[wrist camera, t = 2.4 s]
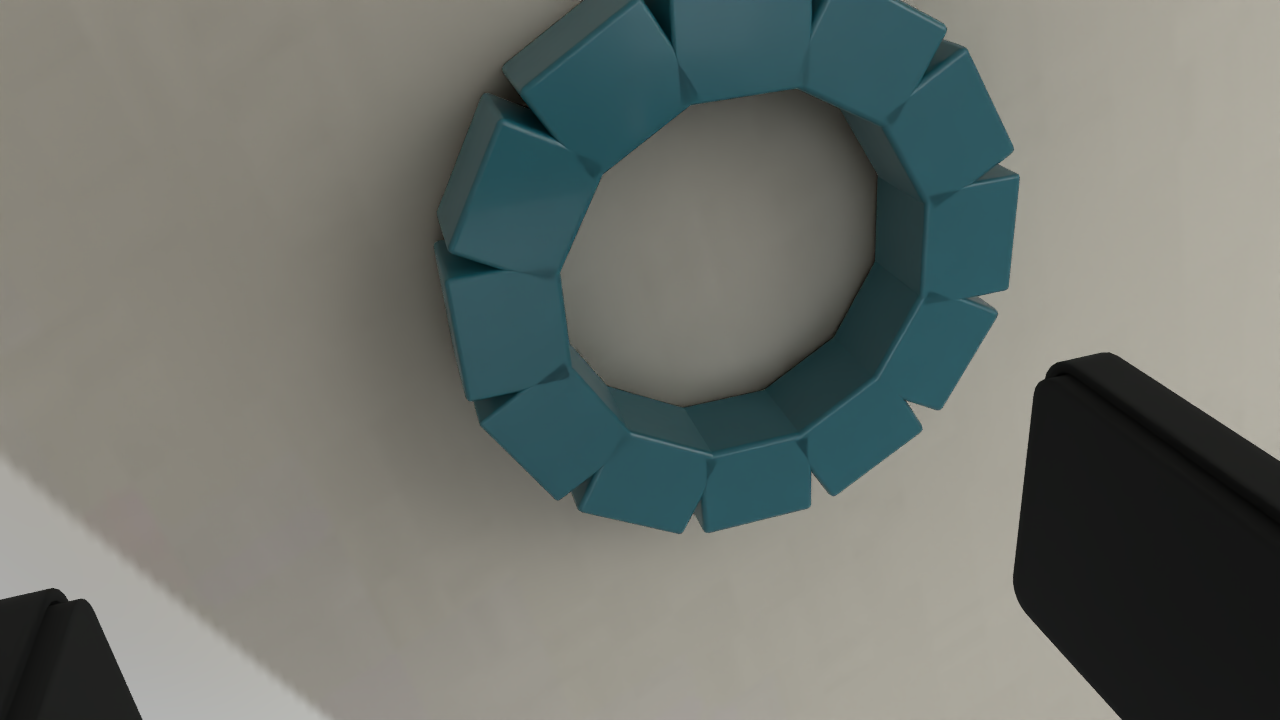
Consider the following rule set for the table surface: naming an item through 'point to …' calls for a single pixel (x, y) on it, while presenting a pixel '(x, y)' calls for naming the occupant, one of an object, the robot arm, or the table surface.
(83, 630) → the robot arm
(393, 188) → the table surface
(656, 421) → the ring
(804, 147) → the table surface
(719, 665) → the table surface
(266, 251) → the table surface
